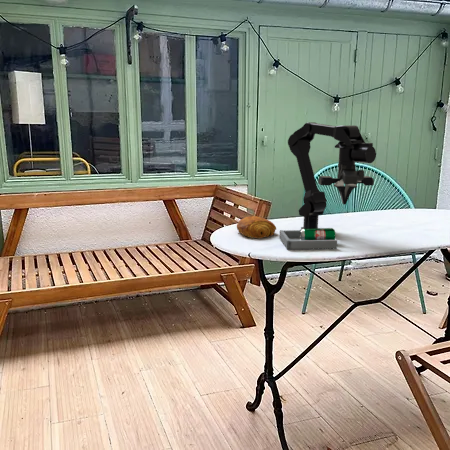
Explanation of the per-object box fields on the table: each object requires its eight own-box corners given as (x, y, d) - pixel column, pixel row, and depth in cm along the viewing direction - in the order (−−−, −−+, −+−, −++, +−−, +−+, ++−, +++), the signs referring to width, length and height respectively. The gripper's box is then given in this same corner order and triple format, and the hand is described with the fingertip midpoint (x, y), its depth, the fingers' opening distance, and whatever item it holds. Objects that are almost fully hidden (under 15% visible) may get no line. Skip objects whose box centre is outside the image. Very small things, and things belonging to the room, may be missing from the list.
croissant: (244, 245, 169) (244, 225, 166) (232, 230, 183) (233, 211, 180) (280, 242, 173) (282, 222, 170) (266, 227, 187) (267, 209, 184)
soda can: (336, 242, 161) (302, 242, 160) (332, 242, 166) (299, 242, 165) (335, 228, 161) (302, 228, 160) (331, 228, 166) (298, 228, 165)
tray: (279, 238, 171) (279, 230, 170) (324, 237, 172) (324, 229, 171) (287, 249, 155) (287, 241, 154) (336, 249, 156) (337, 240, 155)
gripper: (325, 163, 156) (323, 208, 159) (380, 163, 156) (377, 208, 159) (319, 160, 167) (317, 202, 170) (370, 160, 167) (367, 202, 170)
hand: (344, 204), depth 167 cm, fingers closed
